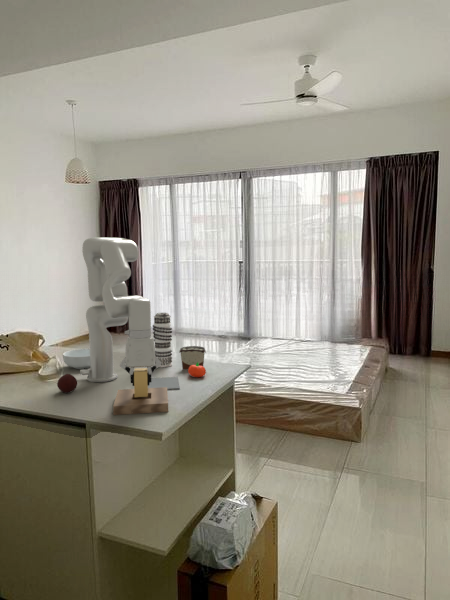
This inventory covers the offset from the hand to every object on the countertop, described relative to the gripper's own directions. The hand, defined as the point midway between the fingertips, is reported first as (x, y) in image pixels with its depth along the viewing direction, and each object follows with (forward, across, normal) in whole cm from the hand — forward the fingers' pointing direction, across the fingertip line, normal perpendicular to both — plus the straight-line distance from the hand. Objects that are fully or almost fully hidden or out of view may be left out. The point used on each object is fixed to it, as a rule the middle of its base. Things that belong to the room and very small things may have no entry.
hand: (141, 384), depth 155 cm
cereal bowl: (+8, -30, +58) cm, 65 cm away
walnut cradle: (+7, 0, 0) cm, 7 cm away
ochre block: (+4, 0, 0) cm, 4 cm away
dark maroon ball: (+8, -29, +19) cm, 35 cm away
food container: (+8, +22, +46) cm, 51 cm away
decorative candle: (+8, +8, +55) cm, 56 cm away
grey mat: (+8, +6, +23) cm, 25 cm away
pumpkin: (+8, +22, +32) cm, 39 cm away
